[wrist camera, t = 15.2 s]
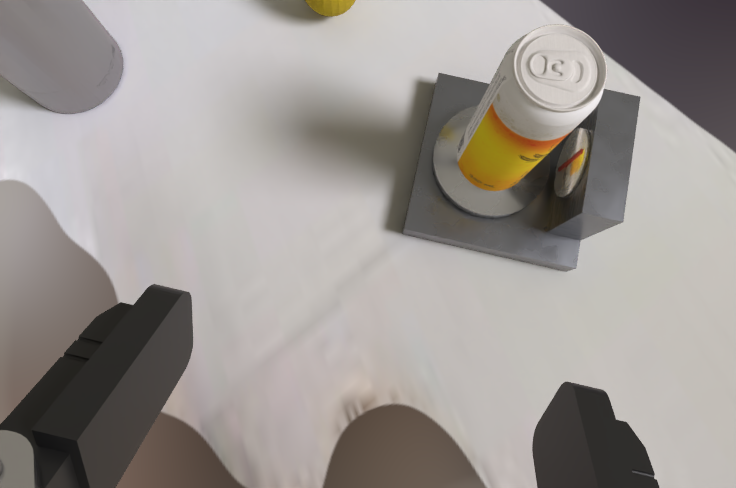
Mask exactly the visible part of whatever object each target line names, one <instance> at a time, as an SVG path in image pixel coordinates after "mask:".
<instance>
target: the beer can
mask: <svg viewBox="0 0 736 488" xmlns="http://www.w3.org/2000/svg"><path fill="white" fill-rule="evenodd" d="M606 77H607V65H606V60H605V57H604V55H603V52H602V51H601V49H600V47H599V46H598V44H597V43H596V42H595V41H594V40H593V39H592V38H591V37H590V36H589V35H587V34H586V33H584V32H583V31H581V30H579V29H577V28H574V27H571V26H567V25H560V24H553V25H546V26H542V27H539V28H537V29H535V30H533V31H531V32H530V33H529V34H527V35H525V36H523V37H521V38H520V39H518V40H517V41H516V42H515V43H514V44H512V46H511V47H510V48H509V49H508V51H507V52H506V54H505V56H504V58H503V60H502V62H501V64H500V66H499V68H498V69H497V71H496V73H495V75H494V77H493V79H492V81H491V83H490V85H489V87H488V88H487V90H486V92H485V94H484V96H483V98H482V100H481V102H480V104H479V106H478V107H477V109H476V111H475V113H474V115H473V117H472V119H471V121H470V123H469V125H468V126H467V128H466V130H465V132H464V134H463V136H462V138H461V140H460V142H459V144H458V148H457V162H458V166H459V168H460V171H461V172H462V174H463V175H464V177H465V178H466V179H467V180H468V181H469V182H470V183H472V184H473V185H475V186H476V187H478V188H481V189H484V190H488V191H501V190H505V189H508V188H510V187H512V186H514V185H515V184H517V183H518V182H519V181H520V180H521V179H522V178H523V177H524V176H525V175H526V174H527V173H528V172H529V171H531V170H532V169H533V168H534V167H535V166H536V165H537V164H538V163H539V162H540V161H541V160H542V159H543V158H544V157H545V156H546V155H547V154H548V153H549V152H550V151H551V150H553V149H554V148H555V147H556V146H557V145H558V144H559V143H560V142H561V141H562V140H563V139H564V138H565V137H566V136H567V135H568V134H569V133H570V132H571V131H572V130H574V129H575V128H576V127H577V126H578V125H579V124H580V123H581V122H582V121H583V120H584V119H585V118H586V117H587V116H588V115H589V114H590V113H591V112H592V111H593V110H594V109H595V108H596V107H597V105H598V103H599V102H600V99H601V97H602V94H603V90H604V85H605V81H606Z"/></svg>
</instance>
